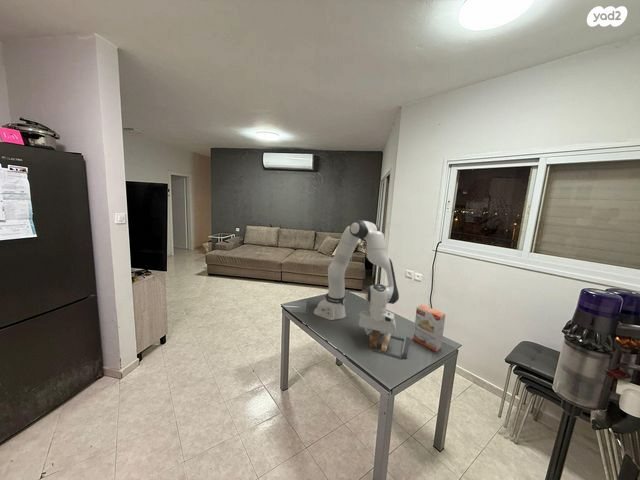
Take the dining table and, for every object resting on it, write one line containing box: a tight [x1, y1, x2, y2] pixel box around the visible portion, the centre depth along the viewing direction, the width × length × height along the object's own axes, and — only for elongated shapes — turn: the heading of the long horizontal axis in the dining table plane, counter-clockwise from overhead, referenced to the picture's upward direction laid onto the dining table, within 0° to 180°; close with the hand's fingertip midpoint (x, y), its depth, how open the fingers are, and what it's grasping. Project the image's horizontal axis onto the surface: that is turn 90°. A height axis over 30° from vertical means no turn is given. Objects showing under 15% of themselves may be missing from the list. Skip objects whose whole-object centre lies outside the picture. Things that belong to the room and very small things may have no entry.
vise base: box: [372, 332, 411, 360], centre depth 136 cm, size 17×19×3 cm
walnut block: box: [368, 329, 381, 349], centre depth 138 cm, size 4×8×6 cm, turn 155°
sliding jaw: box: [381, 333, 392, 352], centre depth 138 cm, size 3×16×3 cm, turn 155°
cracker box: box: [413, 304, 446, 352], centre depth 137 cm, size 14×6×21 cm, turn 36°
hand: (376, 336), depth 138 cm, fingers open, 8 cm apart
